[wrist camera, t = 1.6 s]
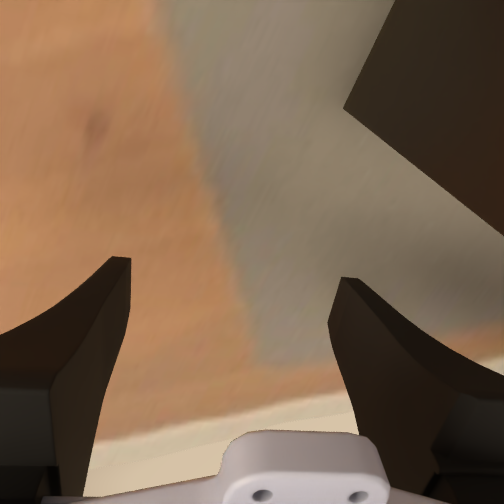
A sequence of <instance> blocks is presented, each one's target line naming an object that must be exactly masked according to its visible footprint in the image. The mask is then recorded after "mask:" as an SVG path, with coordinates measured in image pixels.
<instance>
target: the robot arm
mask: <svg viewBox="0 0 504 504" xmlns="http://www.w3.org/2000/svg"><path fill="white" fill-rule="evenodd" d="M130 300H131V258H126V257H115V256H112V257H111V258H109V259H108V260H107V261H106V262H105V263H104V264H103V265H102V266H101V267H100V268H99V269H98V270H97V271H96V272H95V273H94V274H93V275H92V276H91V277H89V278H88V279H87V280H86V281H85V282H84V283H83V284H81V285H80V286H79V287H78V288H77V289H76V290H74V291H73V292H72V293H70V294H69V295H68V296H67V297H65V298H64V299H63V300H61V301H60V302H59V303H57V304H56V305H54V306H53V307H52V308H50V309H48V310H47V311H45V312H44V313H42V314H40V315H39V316H37V317H35V318H33V319H31V320H29V321H28V322H26V323H24V324H22V325H20V326H18V327H16V328H14V329H12V330H10V331H8V332H6V333H3V334H1V335H0V504H504V376H503V375H501V374H499V373H497V372H495V371H492V370H490V369H488V368H486V367H484V366H482V365H480V364H478V363H476V362H474V361H472V360H470V359H468V358H466V357H464V356H462V355H461V354H459V353H457V352H455V351H453V350H452V349H450V348H448V347H447V346H445V345H443V344H442V343H440V342H439V341H437V340H436V339H434V338H433V337H431V336H429V335H428V334H427V333H425V332H424V331H422V330H421V329H420V328H418V327H417V326H416V325H414V324H413V323H412V322H410V321H409V320H408V319H406V318H405V317H404V316H403V315H401V314H400V313H399V312H398V311H397V310H395V309H394V308H393V307H392V306H391V305H389V304H388V303H387V302H386V301H385V300H384V299H382V298H381V297H380V296H379V295H378V294H377V293H376V292H374V291H373V290H372V289H371V288H370V287H369V286H367V285H366V284H365V283H364V282H362V281H361V280H360V279H358V278H349V277H341V280H340V283H339V286H338V290H337V293H336V296H335V299H334V303H333V306H332V309H331V312H330V316H329V319H328V322H327V323H328V328H329V334H330V339H331V344H332V348H333V351H334V354H335V357H336V360H337V363H338V366H339V369H340V372H341V375H342V377H343V380H344V383H345V386H346V389H347V392H348V394H349V397H350V400H351V403H352V407H353V410H354V414H355V418H356V422H357V427H358V431H359V435H356V434H352V433H347V432H317V431H291V430H259V431H252V432H247V433H245V434H244V435H242V436H240V437H238V438H236V439H234V440H233V441H231V442H230V444H229V446H228V447H227V449H226V450H225V452H224V453H223V457H222V462H221V467H220V470H219V472H218V474H217V475H213V476H207V477H202V478H197V479H192V480H187V481H181V482H176V483H171V484H166V485H161V486H156V487H151V488H145V489H140V490H135V491H130V492H125V493H119V494H114V495H109V496H104V497H83V491H84V487H85V482H86V477H87V472H88V467H89V462H90V457H91V453H92V448H93V443H94V439H95V434H96V429H97V425H98V420H99V416H100V411H101V407H102V403H103V399H104V395H105V392H106V388H107V386H108V383H109V380H110V377H111V374H112V371H113V368H114V365H115V362H116V359H117V356H118V354H119V351H120V348H121V345H122V342H123V339H124V336H125V332H126V327H127V322H128V317H129V312H130Z"/></svg>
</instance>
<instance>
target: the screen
mask: <svg viewBox="0 0 504 504" xmlns="http://www.w3.org/2000/svg"><path fill="white" fill-rule="evenodd" d="M343 109H344V110H345V111H347V112H348V113H349V114H350V115H352V116H353V117H354V118H355V119H357V120H358V121H359V122H360V123H362V124H363V125H364V126H366V127H367V128H368V129H369V130H371V131H372V132H373V133H374V134H376V135H377V136H378V137H379V138H381V139H382V140H383V141H384V142H386V143H387V144H388V145H389V146H391V147H392V148H393V149H394V150H396V151H397V152H398V153H400V154H401V155H402V156H403V157H405V158H406V159H407V160H408V161H410V162H411V163H412V164H413V165H415V166H416V167H417V168H418V169H420V170H421V171H422V172H423V173H425V174H426V175H427V176H429V177H430V178H431V179H432V180H434V181H435V182H436V183H437V184H439V185H440V186H441V187H442V188H444V189H445V190H446V191H447V192H449V193H450V194H451V195H452V196H454V197H455V198H456V199H457V200H459V201H460V202H461V203H463V204H464V205H465V206H466V207H468V208H469V209H470V210H471V211H473V212H474V213H475V214H476V215H478V216H479V217H480V218H481V219H483V220H484V221H485V222H486V223H488V224H489V225H490V226H491V227H493V228H494V229H495V230H497V231H498V232H499V233H500V234H502V235H503V236H504V0H395V2H394V4H393V6H392V8H391V10H390V12H389V15H388V17H387V19H386V21H385V23H384V25H383V27H382V29H381V31H380V33H379V35H378V37H377V39H376V41H375V43H374V45H373V48H372V50H371V52H370V54H369V56H368V58H367V60H366V62H365V64H364V66H363V68H362V70H361V72H360V74H359V76H358V78H357V80H356V83H355V85H354V87H353V89H352V91H351V93H350V95H349V97H348V99H347V101H346V103H345V105H344V107H343Z"/></svg>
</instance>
